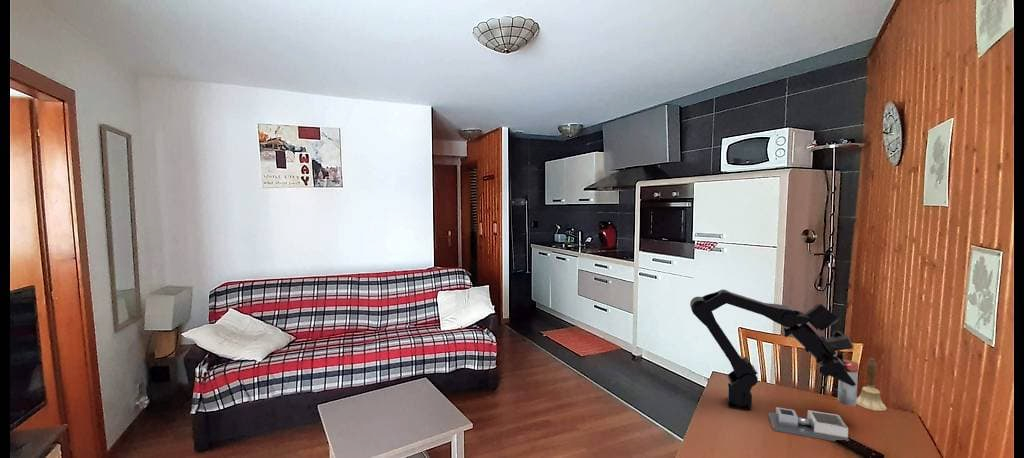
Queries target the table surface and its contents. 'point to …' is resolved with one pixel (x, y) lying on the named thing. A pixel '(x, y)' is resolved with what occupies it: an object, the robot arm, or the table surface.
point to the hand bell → (871, 391)
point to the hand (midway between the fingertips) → (853, 382)
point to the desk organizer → (810, 424)
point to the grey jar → (846, 391)
